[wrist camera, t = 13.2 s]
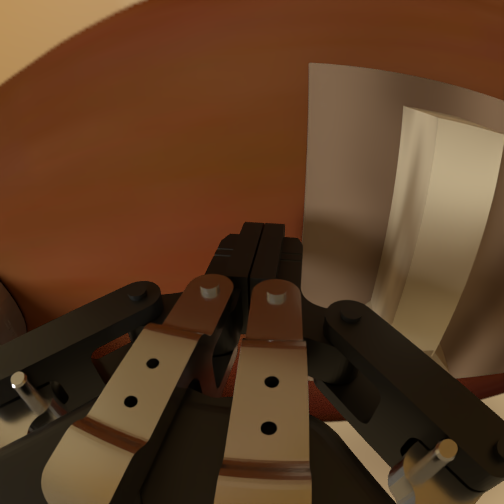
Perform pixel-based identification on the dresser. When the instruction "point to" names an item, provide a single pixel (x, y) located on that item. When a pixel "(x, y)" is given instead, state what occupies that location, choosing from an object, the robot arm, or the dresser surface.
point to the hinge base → (390, 200)
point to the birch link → (434, 223)
